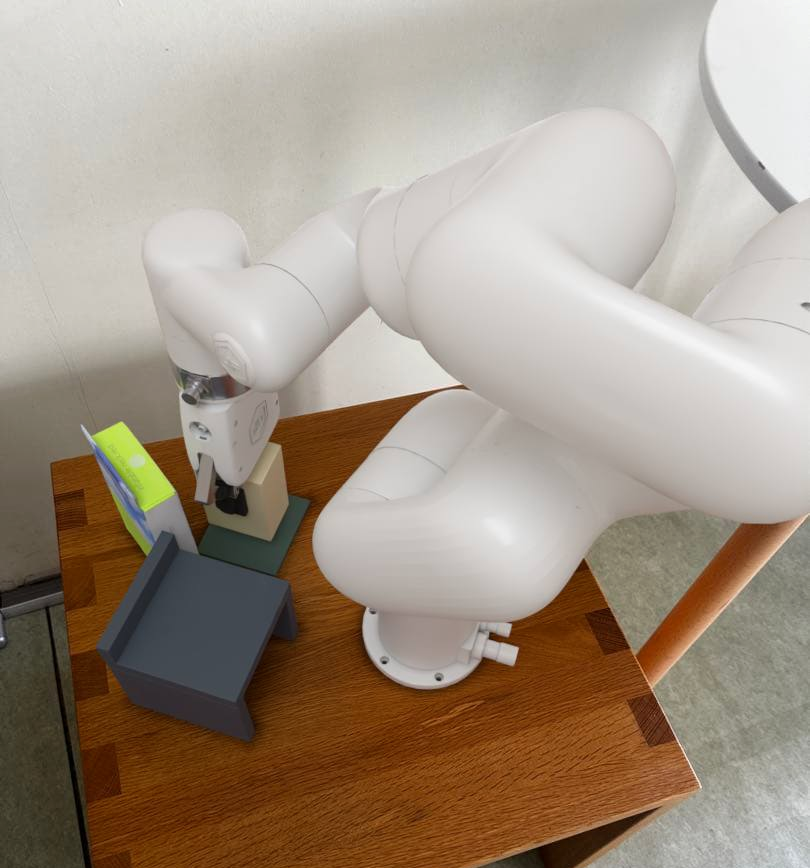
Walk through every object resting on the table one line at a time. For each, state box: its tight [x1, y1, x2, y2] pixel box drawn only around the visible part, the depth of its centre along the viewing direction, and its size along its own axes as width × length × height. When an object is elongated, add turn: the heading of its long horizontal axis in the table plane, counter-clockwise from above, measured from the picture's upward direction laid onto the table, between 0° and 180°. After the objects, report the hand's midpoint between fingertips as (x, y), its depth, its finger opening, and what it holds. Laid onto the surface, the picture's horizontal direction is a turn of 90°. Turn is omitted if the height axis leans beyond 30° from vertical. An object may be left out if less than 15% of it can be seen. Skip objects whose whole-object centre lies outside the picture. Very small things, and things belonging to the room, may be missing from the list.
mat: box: [197, 493, 311, 578], centre depth 89 cm, size 9×10×1 cm
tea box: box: [193, 441, 289, 541], centre depth 83 cm, size 5×7×10 cm
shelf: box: [95, 530, 299, 743], centre depth 75 cm, size 12×12×12 cm
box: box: [79, 420, 200, 557], centre depth 80 cm, size 10×4×17 cm, turn 39°
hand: (244, 486), depth 83 cm, fingers closed on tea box, 5 cm apart
